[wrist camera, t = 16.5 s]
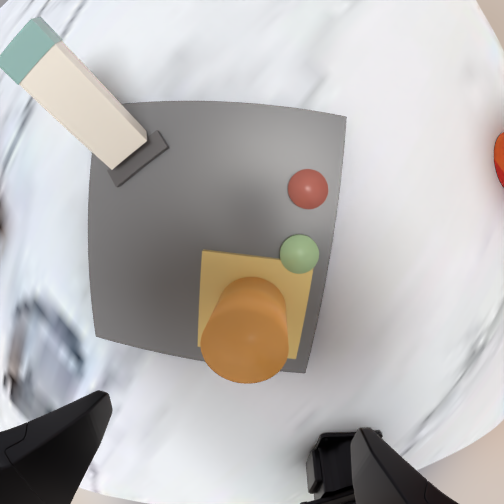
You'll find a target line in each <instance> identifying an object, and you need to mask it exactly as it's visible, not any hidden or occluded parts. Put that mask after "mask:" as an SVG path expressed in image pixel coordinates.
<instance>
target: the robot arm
mask: <svg viewBox="0 0 504 504" xmlns="http://www.w3.org/2000/svg"><path fill="white" fill-rule="evenodd" d="M111 415H112V405H111V401H110V396H109V394H108V393H106V392H103V391H100V390H98V391H95V392H93V393H91V394H89V395H87V396H85V397H83V398H80V399H78V400H76V401H74V402H72V403H70V404H68V405H65V406H63V407H61V408H59V409H57V410H54V411H52V412H50V413H48V414H45V415H43V416H41V417H38V418H36V419H34V420H31V421H29V422H28V423H24V424H22V425H19V426H17V427H14V428H11V429H8V430H5V431H2V432H0V504H70V503H71V501H72V499H73V497H74V495H75V493H76V491H77V489H78V487H79V485H80V483H81V481H82V479H83V477H84V475H85V473H86V471H87V469H88V467H89V465H90V463H91V461H92V459H93V457H94V455H95V453H96V452H97V450H98V448H99V446H100V444H101V441H102V439H103V436H104V433H105V430H106V428H107V425H108V422H109V420H110V417H111ZM306 470H307V482H308V492H309V493H310V494H314V500H313V501H309V502H302V503H300V504H458V503H457V502H455V501H454V500H452V499H451V498H449V497H448V496H446V495H445V494H444V493H442V492H441V491H440V490H438V489H437V488H436V487H435V486H434V485H432V484H431V483H430V482H429V481H427V479H425V478H424V477H423V476H422V475H421V474H420V473H419V472H418V471H416V470H415V469H414V468H413V467H412V466H411V465H410V464H409V463H408V462H406V461H405V460H404V459H403V458H402V457H401V456H400V455H399V454H398V453H397V452H396V451H394V450H393V449H392V448H391V447H390V446H389V445H388V444H387V443H386V442H385V441H384V440H383V439H382V433H381V432H379V431H378V432H374V431H373V430H372V429H371V428H369V427H366V428H359V429H358V430H357V432H356V433H342V434H323V435H321V436H320V438H319V440H318V442H317V445H316V447H315V449H313V450H312V451H311V453H310V456H309V458H308V460H307V462H306Z"/></svg>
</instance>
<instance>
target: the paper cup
mask: <svg viewBox="0 0 504 504" xmlns="http://www.w3.org/2000/svg"><path fill="white" fill-rule="evenodd" d="M494 163H495V168H496V172H497V175H498V178H499V180H500V182H501V184H502V186H503V187H504V132H503V133H502V134H500V135H499V137H498V138H497V140H496V143H495V148H494Z"/></svg>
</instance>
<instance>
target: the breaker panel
mask: <svg viewBox="0 0 504 504" xmlns="http://www.w3.org/2000/svg"><path fill="white" fill-rule="evenodd" d="M122 105H123V106H124V108H125V109H126V110H127V111H128V112H129V113H130V114H131V115H132V116H133V117H134V118H135V119H136V120H137V121H138V123H139V124H140V125H141V126H142V127H143V128H144V129H145V130H146V132H147V142H145V143H144V144H143V145H141V146H140V147H139V148H138V149H136V150H135V151H134V152H133V153H132V154H130V155H129V156H128V157H127V158H125V159H124V160H123V161H122V162H121V163H120V164H118V165H117V166H116V167H115V168H114V169H113V170H111V169H110V168H109V167H108V166H107V165H106V164H105V163H104V162H102V161H101V160H100V159H99V158H98V157H97V156H96V155H95V154H94V153H92V158H91V169H90V182H89V202H88V257H89V277H90V290H91V301H92V311H93V319H94V327H95V334H96V337H99V338H103V339H107V340H110V341H114V342H118V343H121V344H125V345H129V346H133V347H137V348H141V349H146V350H150V351H154V352H159V353H164V354H168V355H173V356H178V357H183V358H189V359H194V360H200V361H205V360H204V358H203V355H202V352H201V347H200V342H201V336H202V333H203V331H204V329H205V327H206V324H207V322H208V320H209V318H210V316H211V314H212V312H213V310H214V308H215V306H216V304H217V302H218V300H219V298H220V296H221V294H222V292H223V290H224V289H225V288H226V287H227V286H228V285H229V284H230V283H232V282H233V281H235V280H237V279H240V278H244V277H258V278H262V279H265V280H267V281H269V282H271V283H272V284H274V285H275V286H276V287H277V288H278V289H279V290H280V292H281V293H282V295H283V297H284V300H285V304H286V316H287V330H288V344H289V352H288V357H287V360H286V362H285V364H284V366H283V367H282V369H281V370H280V371H283V372H296V373H305V372H306V368H307V364H308V360H309V356H310V351H311V347H312V343H313V339H314V334H315V330H316V325H317V321H318V316H319V311H320V306H321V301H322V296H323V291H324V286H325V281H326V275H327V270H328V264H329V258H330V253H331V246H332V240H333V234H334V227H335V220H336V213H337V206H338V198H339V190H340V182H341V173H342V164H343V154H344V143H345V131H346V118H347V117H346V116H341V115H335V114H330V113H324V112H318V111H312V110H306V109H299V108H291V107H283V106H274V105H264V104H253V103H239V102H219V101H160V102H141V103H127V104H122Z"/></svg>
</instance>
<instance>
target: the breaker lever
mask: <svg viewBox="0 0 504 504" xmlns="http://www.w3.org/2000/svg"><path fill="white" fill-rule="evenodd" d="M0 68H1V69H2V70H3V71H4V72H5V73H6V74H7V75H9V76H10V77H11V78H12V79H13V80H14V81H15V82H16V83H17V84H18V85H21V86H22V87H23V88H24V89H25V90H26V91H27V92H28V93H29V94H30V95H31V96H32V97H33V98H34V99H35V100H36V101H37V102H38V103H39V104H40V105H41V106H42V107H44V108H45V109H46V110H47V111H48V112H49V113H50V114H51V115H52V116H53V117H54V118H55V119H56V120H57V121H58V122H60V123H61V124H62V125H63V126H64V127H65V128H66V129H67V130H68V131H69V132H70V133H71V134H73V135H74V136H75V137H76V138H77V139H78V140H79V141H80V142H81V143H82V144H84V145H85V146H86V147H87V148H88V149H89V150H90V151H91V152H92V153H94V154H95V155H96V156H97V157H98V158H99V159H100V160H101V161H102V162H104V163H105V164H106V165H107V166H108V167H109V168H110V169H111V170H113V169H114V168H115V167H116V166H117V165H118V164H120V163H121V162H122V161H123V160H124V159H125V158H127V157H128V156H129V155H130V154H132V153H133V152H134V151H135V150H136V149H138V148H139V147H140V146H141V145H143V144H144V143H145V142H147V132H146V130H145V129H144V128H143V127H142V126H141V125H140V124H139V123H138V121H137V120H136V119H135V118H134V117H133V116H132V115H131V114H130V113H129V112H128V111H127V110H126V109H125V108H124V106H123V105H122V104H121V103H120V102H119V101H118V100H117V99H116V98H115V97H114V96H113V95H112V94H111V93H110V92H109V90H108V89H107V88H106V87H105V86H104V85H103V84H102V83H101V82H100V81H99V80H98V79H97V78H96V77H95V76H94V74H93V73H92V72H91V71H90V70H89V69H88V68H87V67H86V66H85V65H84V64H83V63H82V62H81V61H80V60H79V58H78V57H77V56H76V55H75V54H74V53H73V52H72V51H71V50H70V49H69V48H68V47H67V46H66V45H65V44H64V43H63V42H62V39H61V38H60V37H59V36H58V35H57V34H56V33H55V31H54V30H53V29H52V28H51V27H50V26H49V25H48V24H47V23H46V22H45V21H44V20H43V19H42V18H41V17H38V18H33V19H31V20H30V21H29V22H28V23H27V24H26V25H25V26H24V27H23V29H22V30H21V31H20V32H19V33H18V34H17V35H16V37H15V38H14V39H13V40H12V41H11V42H10V44H9V45H8V46H7V47H6V49H5V50H4V51H3V52H2V54H1V55H0Z"/></svg>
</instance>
